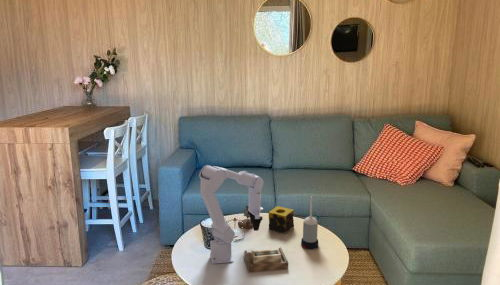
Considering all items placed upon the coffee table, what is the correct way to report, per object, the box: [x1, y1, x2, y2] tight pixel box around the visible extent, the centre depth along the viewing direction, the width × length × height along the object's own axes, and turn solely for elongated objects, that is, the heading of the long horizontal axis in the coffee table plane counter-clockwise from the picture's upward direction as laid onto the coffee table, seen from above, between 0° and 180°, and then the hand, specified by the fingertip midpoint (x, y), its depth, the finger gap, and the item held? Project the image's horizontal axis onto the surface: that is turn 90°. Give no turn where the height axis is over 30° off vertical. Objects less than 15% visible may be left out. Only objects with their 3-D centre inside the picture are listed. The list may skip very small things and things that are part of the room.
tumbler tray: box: [251, 248, 281, 264], centre depth 164 cm, size 12×5×4 cm, turn 100°
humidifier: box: [300, 195, 319, 250], centre depth 178 cm, size 8×8×25 cm
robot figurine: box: [237, 202, 253, 230], centre depth 201 cm, size 11×9×12 cm
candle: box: [268, 205, 295, 235], centre depth 198 cm, size 10×10×10 cm
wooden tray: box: [243, 247, 289, 274], centre depth 166 cm, size 17×13×3 cm
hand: (254, 226), depth 180 cm, fingers open, 7 cm apart
